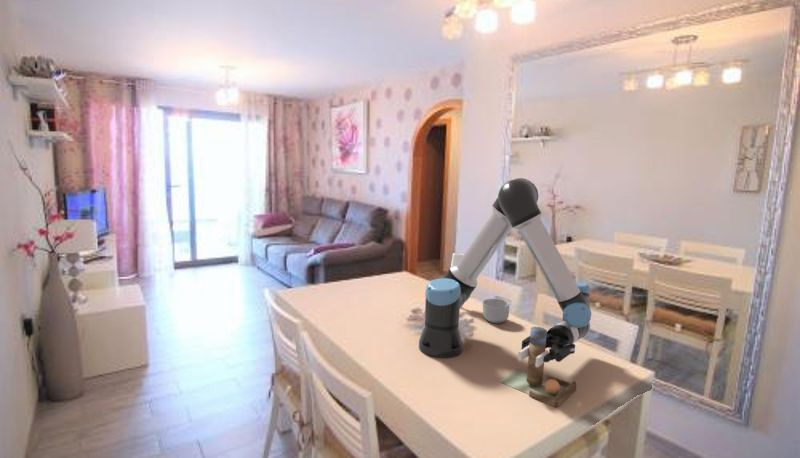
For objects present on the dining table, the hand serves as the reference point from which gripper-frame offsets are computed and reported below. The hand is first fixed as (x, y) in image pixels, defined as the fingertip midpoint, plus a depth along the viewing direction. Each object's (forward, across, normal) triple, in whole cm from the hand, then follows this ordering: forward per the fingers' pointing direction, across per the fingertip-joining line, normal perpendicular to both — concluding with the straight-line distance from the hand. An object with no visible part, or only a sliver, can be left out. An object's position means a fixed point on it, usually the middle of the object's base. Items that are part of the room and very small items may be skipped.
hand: (528, 359), depth 116 cm
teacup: (-44, +36, -10) cm, 58 cm away
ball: (-5, -6, -8) cm, 11 cm away
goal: (-5, -1, -10) cm, 11 cm away
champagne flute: (-46, +57, -10) cm, 74 cm away
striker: (-5, 0, -9) cm, 10 cm away
